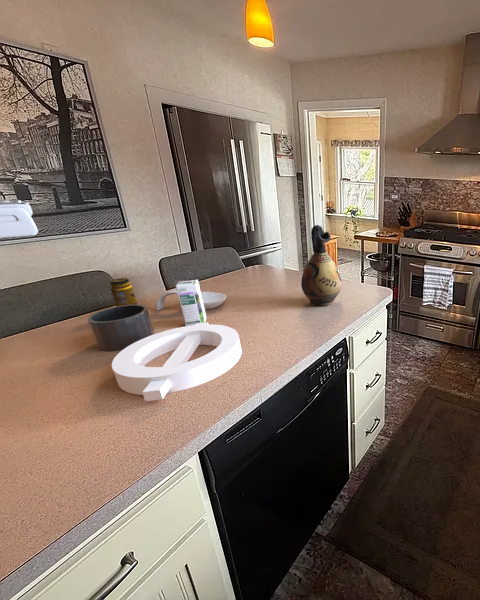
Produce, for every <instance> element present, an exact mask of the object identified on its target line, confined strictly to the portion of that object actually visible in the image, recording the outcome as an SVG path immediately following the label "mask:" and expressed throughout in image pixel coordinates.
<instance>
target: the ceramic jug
mask: <svg viewBox="0 0 480 600" xmlns="http://www.w3.org/2000/svg"><path fill="white" fill-rule="evenodd" d="M310 231H311V232H310V234H311V236H310V238H311V244H312V246H311V247H312V255H311V257H310V258H309V260H308V261H307V263H306V265H305V267H304V269H303V272H302V274H301V283H300V284H301V290H302V292H303V294H304V296H305V297H306V298H307V299H308V300H309V302H310V304H311V305H312V306H313V307H327V306H330V305H333V304H334V302H335V300H336V298H337V297H338V295H339V294H340V292H341V290H342V287H343V285H342V284H343V283H342V276H341V273H340V270H339V268H338V266H337V264H336V263H335V261H334V260H333V258H332V257H331V255H330V254H329V253H328V251H327V250H326V245H325V244H326V243H328V242H330V241H331V234H330V232H329V231H325V232H324V230H323V227H322V226H321V225H319V224H315V225H313V226H312V228H311V230H310Z"/></svg>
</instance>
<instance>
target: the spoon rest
mask: <svg viewBox="0 0 480 600" xmlns="http://www.w3.org/2000/svg"><path fill="white" fill-rule="evenodd" d="M200 291H201V290H200ZM171 295H177V296H178V293H177V289H176V288H175V289H170V290H167V291H166V292H164V293H163V294H161V295H160V296H159V297H158V298H157V300H156V302H155V309H156V311H160V310H161V311H162V309H164V308H165V307H166V297H168V296H171ZM201 295H202V300H203V304H204V309H205V310H213V309H216V308H217V307H219V306H222V304H223V303H224V302H225V301H226V299H227V295H226V294H225V293H221V292H215V291H214V292H213V291H201Z"/></svg>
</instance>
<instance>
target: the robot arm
mask: <svg viewBox="0 0 480 600" xmlns="http://www.w3.org/2000/svg"><path fill="white" fill-rule="evenodd" d="M33 215H34V211H33V208H32V206H31V205H30V204H29V203H28V202H27V201H24V200H21V199H0V239H6V238H18V237H19V238H20V237H31V236H32V237H33V236H37V235H38V233H39V229H38V227H37V225H36V223H35V221H34V219H33V217H32V216H33Z"/></svg>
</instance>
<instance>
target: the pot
mask: <svg viewBox="0 0 480 600" xmlns="http://www.w3.org/2000/svg"><path fill="white" fill-rule="evenodd" d="M150 316H151V315H150V313H149V311H148V307H147V305H144V304H138V305H123V306H117V307H116V306H113V307H108V308H105V309H102V310H99V311H96V312H95V313H93V314H90V315H89V316H88V317H87V323H88V325H89V328H90V332H91V334H92V336H93V340H94V342H95V344H96V346H97V349H98V350H99V351H103V352H117V351H122V350H123V349H125V348H126V347H128V346H130V345H131V344H133V343H135V342H137V341H139V340H141V339H143V338H146V337H148V336H151V335H154V334H155V330H154V327H153V324H152V321H151V317H150Z"/></svg>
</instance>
